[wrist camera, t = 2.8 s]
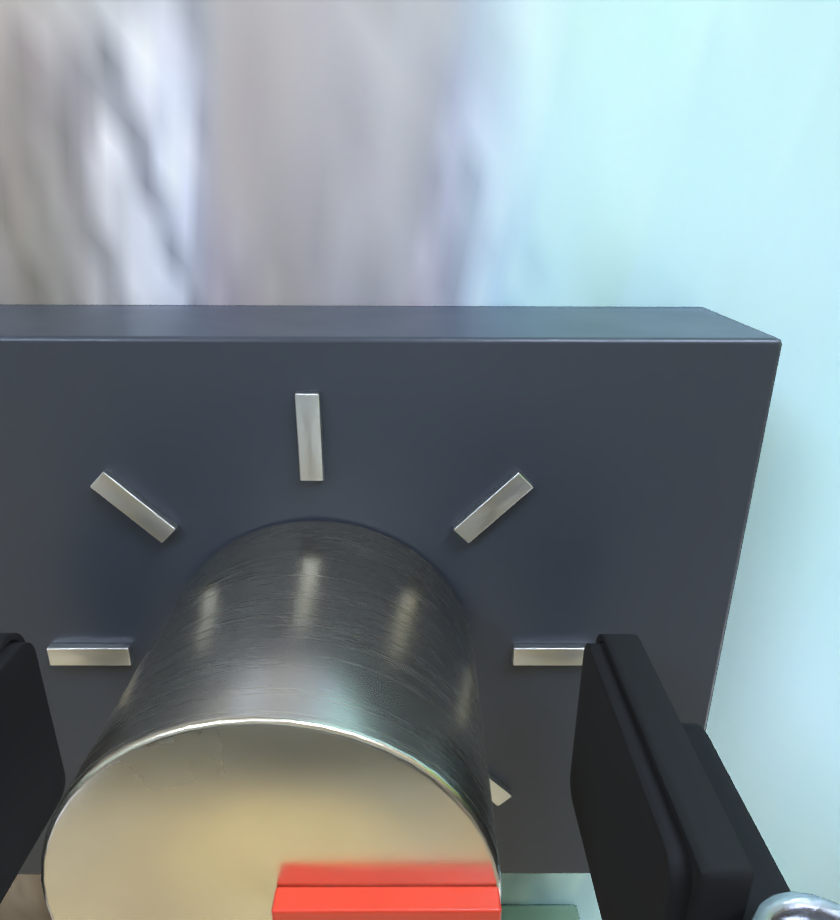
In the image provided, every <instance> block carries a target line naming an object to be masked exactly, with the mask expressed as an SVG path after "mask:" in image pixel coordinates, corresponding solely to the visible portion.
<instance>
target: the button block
mask: <svg viewBox="0 0 840 920" xmlns="http://www.w3.org/2000/svg"><path fill="white" fill-rule="evenodd" d="M501 908H502V912H501V920H580V918H579V914H578V910H577V906H576V905H501Z"/></svg>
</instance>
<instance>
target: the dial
mask: <svg viewBox="0 0 840 920" xmlns="http://www.w3.org/2000/svg"><path fill="white" fill-rule="evenodd" d="M41 882H42V887H43V893H44V898H45V902H46V905H47V908H48V910H49V913H50V916H51V918H52V920H501V912H502V908H501V897H502V885H501V869H500V861H499V853H498V845H497V837H496V828H495V820H494V812H493V804H492V796H491V788H490V780H489V772H488V764H487V756H486V748H485V740H484V732H483V724H482V716H481V708H480V700H479V692H478V684H477V676H476V668H475V660H474V652H473V644H472V637H471V632H470V627H469V623H468V620H467V617H466V614H465V612H464V609H463V607H462V605H461V603H460V601H459V599H458V597H457V596H456V594H455V592H454V590H453V589H452V588H451V586H450V585H449V584H448V582H447V581H446V580H445V578H444V577H443V576H442V575H441V574H440V573H439V572H438V571H437V570H436V569H435V568H434V567H433V566H432V565H431V564H430V563H429V562H428V561H426V560H425V559H424V558H423V557H421V556H420V555H419V554H417V553H416V552H415V551H414V550H412V549H410V548H409V547H407V546H405V545H404V544H402V543H400V542H398V541H397V540H395V539H393V538H390V537H388V536H386V535H383V534H381V533H379V532H376V531H373V530H370V529H366V528H363V527H360V526H356V525H351V524H345V523H339V522H330V521H300V522H290V523H285V524H279V525H273V526H270V527H267V528H264V529H260V530H257V531H254V532H251V533H249V534H247V535H245V536H243V537H240V538H238V539H236V540H234V541H232V542H231V543H229V544H228V545H226V546H225V547H223V548H221V549H220V550H218V551H217V552H216V553H215V554H213V555H212V556H211V557H210V558H209V559H208V560H206V561H205V562H204V563H203V564H202V565H201V566H200V568H199V569H198V570H197V571H196V572H195V573H194V574H193V576H192V577H191V578H190V580H189V581H188V583H187V585H186V586H185V588H184V589H183V591H182V593H181V594H180V596H179V598H178V599H177V601H176V603H175V605H174V606H173V608H172V610H171V612H170V613H169V615H168V617H167V618H166V620H165V622H164V624H163V625H162V627H161V629H160V631H159V632H158V634H157V636H156V637H155V639H154V641H153V643H152V644H151V646H150V648H149V650H148V651H147V653H146V655H145V656H144V658H143V660H142V662H141V663H140V665H139V667H138V668H137V670H136V672H135V674H134V675H133V677H132V679H131V681H130V682H129V684H128V686H127V687H126V689H125V691H124V693H123V694H122V696H121V698H120V700H119V701H118V703H117V705H116V706H115V708H114V710H113V712H112V713H111V715H110V717H109V719H108V720H107V722H106V724H105V725H104V727H103V729H102V731H101V732H100V734H99V736H98V738H97V739H96V741H95V743H94V744H93V746H92V748H91V750H90V751H89V753H88V755H87V756H86V758H85V760H84V762H83V763H82V765H81V767H80V769H79V770H78V772H77V774H76V775H75V777H74V779H73V781H72V782H71V784H70V786H69V788H68V789H67V791H66V793H65V794H64V796H63V798H62V800H61V801H60V803H59V805H58V807H57V808H56V810H55V812H54V814H53V817H52V819H51V822H50V824H49V826H48V829H47V831H46V835H45V840H44V845H43V850H42V856H41Z"/></svg>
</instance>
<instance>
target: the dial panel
mask: <svg viewBox="0 0 840 920" xmlns="http://www.w3.org/2000/svg"><path fill="white" fill-rule="evenodd" d="M781 346H782V343H781V340H780V339H778V338H776V337H773V336H771V335H768V334H766V333H764V332H761V331H759V330H756V329H754V328H752V327H749V326H747V325H744V324H742V323H740V322H737V321H735V320H732V319H730V318H727V317H725V316H723V315H720V314H718V313H715V312H713V311H711V310H708V309H706V308H703V307H527V306H244V305H0V633H18V634H21V636H22V637H23V638H24V640H25V642H28V643H31V644H32V645H33V646H34V648H35V650H36V654H37V659H38V663H39V667H40V671H41V675H42V679H43V684H44V688H45V692H46V696H47V700H48V705H49V709H50V713H51V717H52V721H53V725H54V730H55V734H56V738H57V742H58V746H59V751H60V755H61V759H62V763H63V767H64V771H65V788H64V792H63V795H62V798H63V796H64V794H65V793H66V791H67V789H68V788H69V786H70V784H71V782H72V781H73V779H74V777H75V775H76V774H77V772H78V770H79V769H80V767H81V765H82V763H83V762H84V760H85V758H86V756H87V755H88V753H89V751H90V750H91V748H92V746H93V744H94V743H95V741H96V739H97V738H98V736H99V734H100V732H101V731H102V729H103V727H104V725H105V724H106V722H107V720H108V719H109V717H110V715H111V713H112V712H113V710H114V708H115V706H116V705H117V703H118V701H119V700H120V698H121V696H122V694H123V693H124V691H125V689H126V687H127V686H128V684H129V682H130V681H131V679H132V677H133V675H134V674H135V672H136V670H137V668H138V667H139V665H140V663H141V662H142V660H143V658H144V656H145V655H146V653H147V651H148V650H149V648H150V646H151V644H152V643H153V641H154V639H155V637H156V636H157V634H158V632H159V631H160V629H161V627H162V625H163V624H164V622H165V620H166V618H167V617H168V615H169V613H170V612H171V610H172V608H173V606H174V605H175V603H176V601H177V599H178V598H179V596H180V594H181V593H182V591H183V589H184V588H185V586H186V585H187V583H188V581H189V580H190V578H191V577H192V576H193V574H194V573H195V572H196V571H197V570H198V569H199V568H200V566H201V565H202V564H203V563H204V562H205V561H206V560H208V559H209V558H210V557H211V556H212V555H213V554H215V553H216V552H217V551H218V550H220V549H221V548H223V547H225V546H226V545H228V544H229V543H231V542H232V541H234V540H236V539H238V538H240V537H243V536H245V535H247V534H249V533H251V532H254V531H257V530H260V529H264V528H267V527H270V526H273V525H279V524H285V523H290V522H300V521H330V522H339V523H345V524H351V525H356V526H360V527H363V528H366V529H370V530H373V531H376V532H379V533H381V534H383V535H386V536H388V537H390V538H393V539H395V540H397V541H398V542H400V543H402V544H404V545H405V546H407V547H409V548H410V549H412V550H414V551H415V552H416V553H417V554H419V555H420V556H421V557H423V558H424V559H425V560H426V561H428V562H429V563H430V564H431V565H432V566H433V567H434V568H435V569H436V570H437V571H438V572H439V573H440V574H441V575H442V576H443V577H444V578H445V580H446V581H447V582H448V584H449V585H450V586H451V588H452V589H453V590H454V592H455V594H456V596H457V597H458V599H459V601H460V603H461V605H462V607H463V609H464V612H465V614H466V617H467V620H468V623H469V627H470V632H471V637H472V644H473V652H474V660H475V668H476V676H477V684H478V692H479V700H480V708H481V716H482V724H483V732H484V740H485V748H486V756H487V764H488V772H489V780H490V788H491V796H492V804H493V812H494V820H495V828H496V837H497V845H498V853H499V861H500V869H501V873H590V870H589V866H588V862H587V858H586V854H585V850H584V846H583V842H582V838H581V834H580V830H579V826H578V822H577V818H576V814H575V810H574V807H573V802H572V798H571V790H570V772H571V763H572V754H573V744H574V735H575V726H576V717H577V708H578V699H579V690H580V680H581V671H582V662H583V653H584V647H585V645H586V644H587V643H596V639H597V637H598V635H599V634H636V635H637V636H638V637H639V639H640V641H641V643H642V645H643V647H644V649H645V651H646V653H647V655H648V657H649V659H650V661H651V663H652V665H653V667H654V669H655V671H656V673H657V675H658V677H659V679H660V681H661V683H662V685H663V687H664V689H665V691H666V693H667V695H668V697H669V699H670V701H671V703H672V705H673V707H674V709H675V712H676V714H677V716H678V718H679V720H680V722H681V723H697V724H698V725H700V726H701V727H702V728H703V729H704V731H706V725H707V720H708V715H709V710H710V705H711V700H712V695H713V690H714V685H715V680H716V675H717V670H718V665H719V660H720V655H721V650H722V644H723V639H724V634H725V629H726V624H727V619H728V614H729V609H730V604H731V599H732V594H733V589H734V584H735V579H736V574H737V569H738V563H739V558H740V553H741V548H742V543H743V538H744V533H745V528H746V523H747V518H748V513H749V508H750V503H751V498H752V493H753V488H754V482H755V477H756V472H757V467H758V462H759V457H760V452H761V447H762V442H763V437H764V432H765V427H766V422H767V417H768V412H769V407H770V401H771V396H772V391H773V386H774V381H775V376H776V371H777V366H778V361H779V356H780V351H781ZM62 798H61V800H62ZM61 800H60V801H61ZM59 803H60V802H59ZM58 805H59V804H58ZM57 807H58V806H57ZM57 807H56V808H57ZM55 810H56V809H55ZM54 812H55V811H54ZM53 814H54V813H53ZM53 814H52V816H51V818H50V819H49V821H48V823H47V825H46V826H45V828H44V830H43V831H42V833H41V835H40V836H39V838H38V840H37V842H36V843H35V845H34V847H33V848H32V850H31V852H30V854H29V855H28V857H27V859H26V860H25V862H24V864H23V866H22V867H21V869H20V871H19V872H18V874H41V856H42V850H43V845H44V840H45V835H46V831H47V829H48V826H49V824H50V822H51V819H52V817H53Z"/></svg>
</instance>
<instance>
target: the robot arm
mask: <svg viewBox="0 0 840 920" xmlns="http://www.w3.org/2000/svg"><path fill="white" fill-rule="evenodd" d="M64 788H65V771H64V767H63V763H62V759H61V755H60V751H59V746H58V742H57V738H56V734H55V730H54V725H53V721H52V717H51V713H50V709H49V705H48V700H47V696H46V692H45V688H44V684H43V679H42V675H41V671H40V667H39V663H38V659H37V654H36V650H35V648H34V646H33V645H32V644H31V643H28V642H25V640H24V638H23V637H22V636H21V634H18V633H0V903H1V902H2V900H3V898H4V896H5V895H6V893H7V891H8V890H9V888H10V886H11V884H12V883H13V881H14V879H15V878H16V876H17V874H18V872H19V871H20V869H21V867H22V866H23V864H24V862H25V860H26V859H27V857H28V855H29V854H30V852H31V850H32V848H33V847H34V845H35V843H36V842H37V840H38V838H39V836H40V835H41V833H42V831H43V830H44V828H45V826H46V825H47V823H48V821H49V819H50V818H51V816H52V814H53V813H54V811H55V809H56V807H57V806H58V804H59V802H60V800H61V798H62V795H63V792H64ZM570 790H571V798H572V802H573V807H574V810H575V814H576V818H577V822H578V826H579V830H580V834H581V838H582V842H583V846H584V850H585V854H586V858H587V862H588V866H589V870H590V874H591V878H592V882H593V886H594V890H595V894H596V898H597V902H598V906H599V910H600V914H601V918H602V920H840V905H838V904H837V903H835V902H832V901H830V900H827V899H824V898H821V897H819V896H816V895H813V894H808V893H799V892H791V891H790V889H789V888H788V886H787V884H786V882H785V880H784V878H783V876H782V874H781V872H780V871H779V869H778V867H777V865H776V863H775V861H774V859H773V857H772V855H771V854H770V852H769V850H768V848H767V846H766V844H765V842H764V840H763V839H762V837H761V835H760V833H759V831H758V829H757V827H756V825H755V823H754V822H753V820H752V818H751V816H750V814H749V812H748V810H747V808H746V807H745V805H744V803H743V801H742V799H741V797H740V795H739V793H738V791H737V790H736V788H735V786H734V784H733V782H732V780H731V778H730V776H729V774H728V773H727V771H726V769H725V767H724V765H723V763H722V761H721V759H720V758H719V756H718V754H717V752H716V750H715V748H714V746H713V744H712V742H711V741H710V739H709V737H708V735H707V734H706V732H705V731H704V729H703V728H702V727H701V726H700V725H698V724H697V723H681V722H680V720H679V718H678V716H677V714H676V712H675V709H674V707H673V705H672V703H671V701H670V699H669V697H668V695H667V693H666V691H665V689H664V687H663V685H662V683H661V681H660V679H659V677H658V675H657V673H656V671H655V669H654V667H653V665H652V663H651V661H650V659H649V657H648V655H647V653H646V651H645V649H644V647H643V645H642V643H641V641H640V639H639V637H638V636H637V635H636V634H599V635H598V637H597V639H596V643H587V644H586V645H585V647H584V653H583V662H582V671H581V680H580V690H579V699H578V708H577V717H576V726H575V735H574V744H573V754H572V763H571V772H570Z"/></svg>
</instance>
